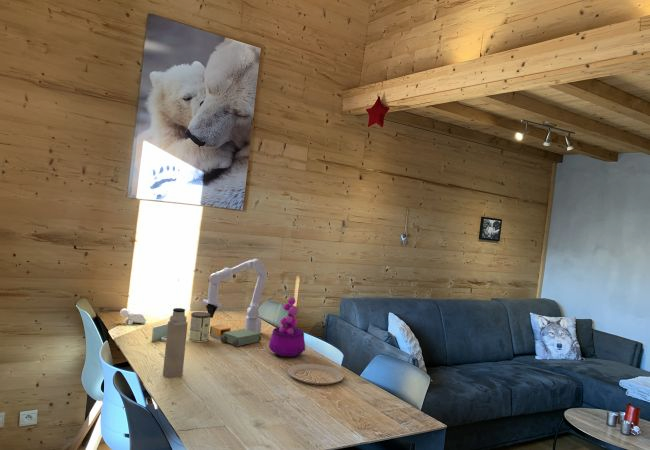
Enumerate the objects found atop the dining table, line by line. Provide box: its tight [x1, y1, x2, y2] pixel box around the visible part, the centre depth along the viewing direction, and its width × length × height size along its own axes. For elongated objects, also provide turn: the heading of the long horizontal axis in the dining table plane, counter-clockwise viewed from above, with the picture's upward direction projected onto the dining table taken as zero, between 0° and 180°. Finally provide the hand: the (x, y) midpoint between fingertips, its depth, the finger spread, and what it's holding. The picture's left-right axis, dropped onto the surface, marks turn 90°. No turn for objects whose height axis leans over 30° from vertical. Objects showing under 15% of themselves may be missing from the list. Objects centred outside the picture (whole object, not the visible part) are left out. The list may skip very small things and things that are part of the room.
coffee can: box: [188, 311, 211, 343], centre depth 259 cm, size 10×10×14 cm
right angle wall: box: [151, 322, 168, 343], centre depth 252 cm, size 12×12×8 cm
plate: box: [287, 363, 345, 386], centre depth 219 cm, size 26×26×2 cm
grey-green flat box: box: [209, 328, 262, 348], centre depth 267 cm, size 18×25×5 cm
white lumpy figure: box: [119, 308, 147, 326], centre depth 279 cm, size 9×8×15 cm
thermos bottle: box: [162, 307, 189, 379], centre depth 203 cm, size 8×8×28 cm
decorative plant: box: [268, 296, 306, 358], centre depth 248 cm, size 19×18×30 cm
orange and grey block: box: [209, 324, 232, 337], centre depth 273 cm, size 9×8×4 cm
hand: (210, 317), depth 278 cm, fingers closed
